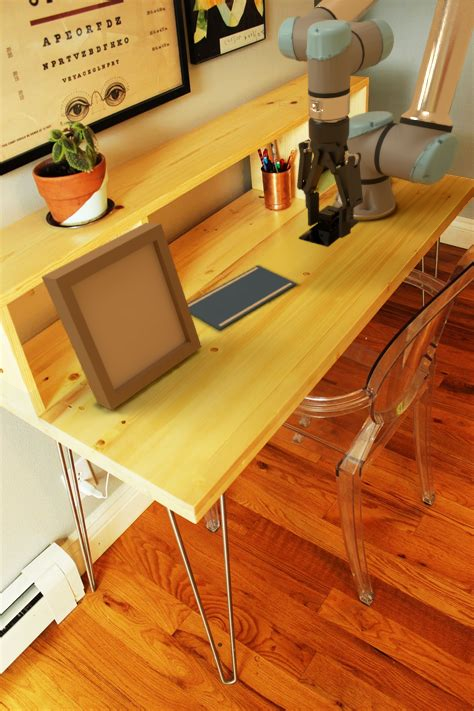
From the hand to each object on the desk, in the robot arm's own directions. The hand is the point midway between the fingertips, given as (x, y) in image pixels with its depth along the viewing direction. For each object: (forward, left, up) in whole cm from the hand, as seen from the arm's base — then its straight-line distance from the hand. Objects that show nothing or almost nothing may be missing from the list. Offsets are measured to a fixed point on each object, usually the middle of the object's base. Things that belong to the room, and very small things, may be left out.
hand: (328, 229), depth 129 cm
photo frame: (+47, -7, -12) cm, 49 cm away
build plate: (0, 0, 0) cm, 0 cm away
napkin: (+18, -9, -11) cm, 23 cm away
